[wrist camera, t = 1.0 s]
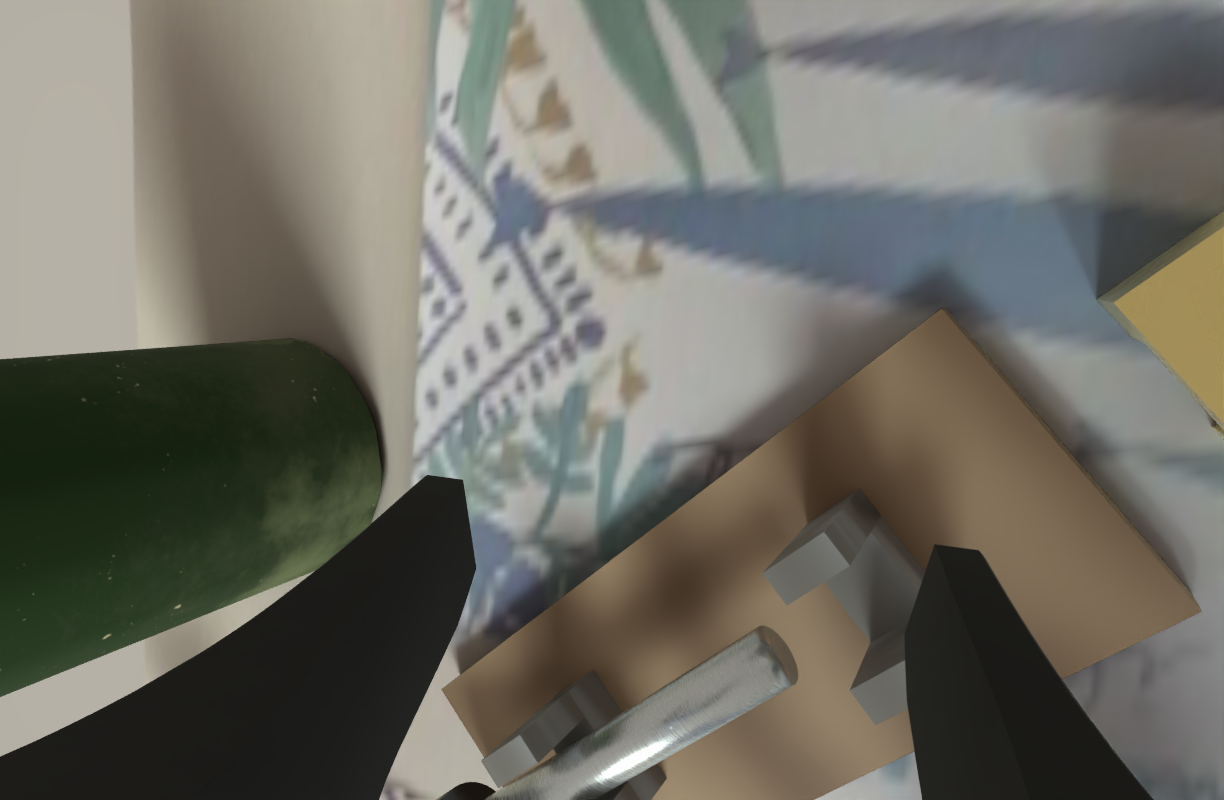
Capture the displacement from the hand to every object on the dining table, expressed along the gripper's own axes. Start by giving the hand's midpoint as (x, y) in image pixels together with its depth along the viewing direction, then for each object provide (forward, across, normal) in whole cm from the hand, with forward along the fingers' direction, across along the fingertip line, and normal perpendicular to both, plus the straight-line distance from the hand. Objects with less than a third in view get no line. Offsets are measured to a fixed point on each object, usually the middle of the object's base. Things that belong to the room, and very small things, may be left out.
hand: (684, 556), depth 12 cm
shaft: (+6, +2, +16) cm, 18 cm away
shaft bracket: (+9, -2, +14) cm, 17 cm away
